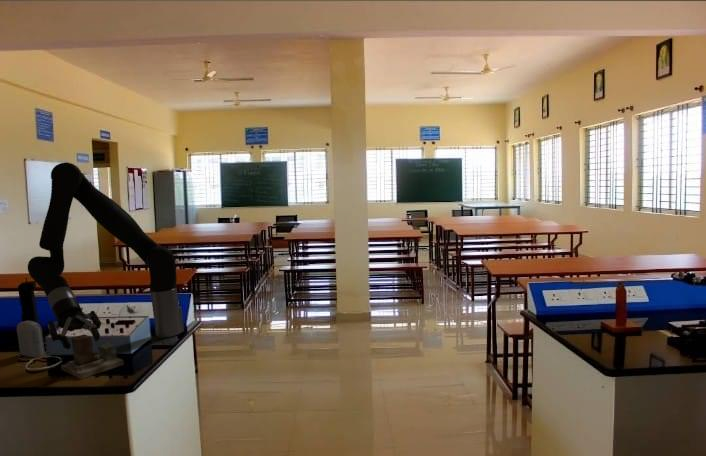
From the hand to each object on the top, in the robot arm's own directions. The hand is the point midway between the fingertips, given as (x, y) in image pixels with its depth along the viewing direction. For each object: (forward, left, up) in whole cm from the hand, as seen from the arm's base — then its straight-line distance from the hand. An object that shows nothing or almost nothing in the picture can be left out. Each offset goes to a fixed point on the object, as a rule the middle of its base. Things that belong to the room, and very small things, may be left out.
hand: (83, 343), depth 159 cm
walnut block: (0, -1, -7) cm, 7 cm away
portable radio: (-4, -62, -9) cm, 63 cm away
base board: (-2, -1, -9) cm, 9 cm away
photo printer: (+4, -37, -9) cm, 38 cm away
